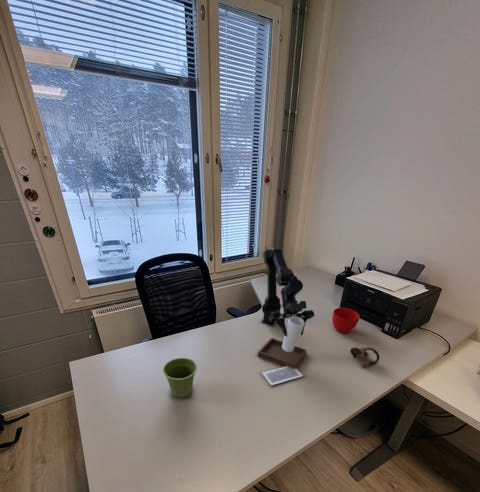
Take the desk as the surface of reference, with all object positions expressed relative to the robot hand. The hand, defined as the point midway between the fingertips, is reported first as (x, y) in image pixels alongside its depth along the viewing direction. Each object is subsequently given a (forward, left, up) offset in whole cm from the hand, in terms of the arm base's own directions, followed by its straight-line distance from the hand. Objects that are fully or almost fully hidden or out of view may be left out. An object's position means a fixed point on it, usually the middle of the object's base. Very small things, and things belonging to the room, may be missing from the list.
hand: (294, 335), depth 111 cm
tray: (-5, +2, -13) cm, 14 cm away
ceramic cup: (+12, +42, -13) cm, 46 cm away
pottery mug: (+27, +18, -13) cm, 35 cm away
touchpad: (+1, -11, -14) cm, 18 cm away
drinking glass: (-2, +1, -8) cm, 9 cm away
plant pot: (-27, -40, -13) cm, 50 cm away
